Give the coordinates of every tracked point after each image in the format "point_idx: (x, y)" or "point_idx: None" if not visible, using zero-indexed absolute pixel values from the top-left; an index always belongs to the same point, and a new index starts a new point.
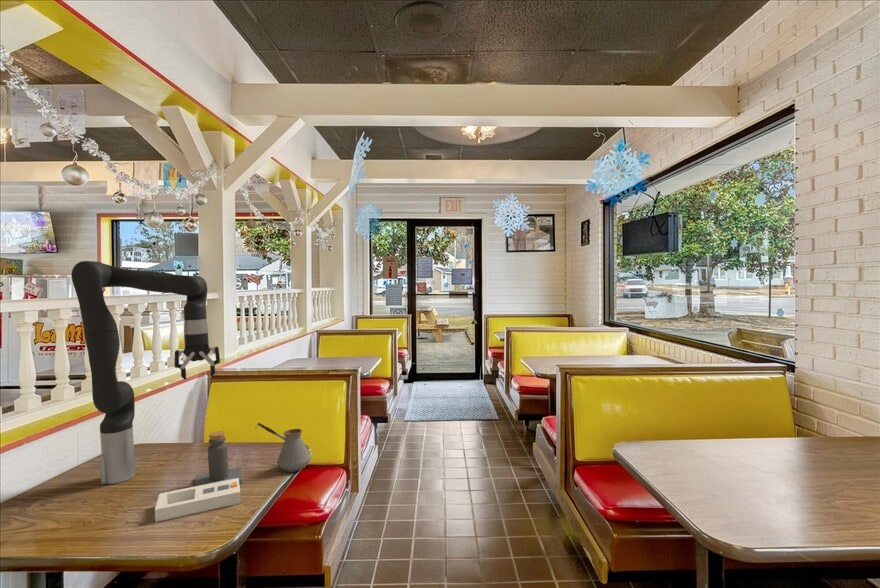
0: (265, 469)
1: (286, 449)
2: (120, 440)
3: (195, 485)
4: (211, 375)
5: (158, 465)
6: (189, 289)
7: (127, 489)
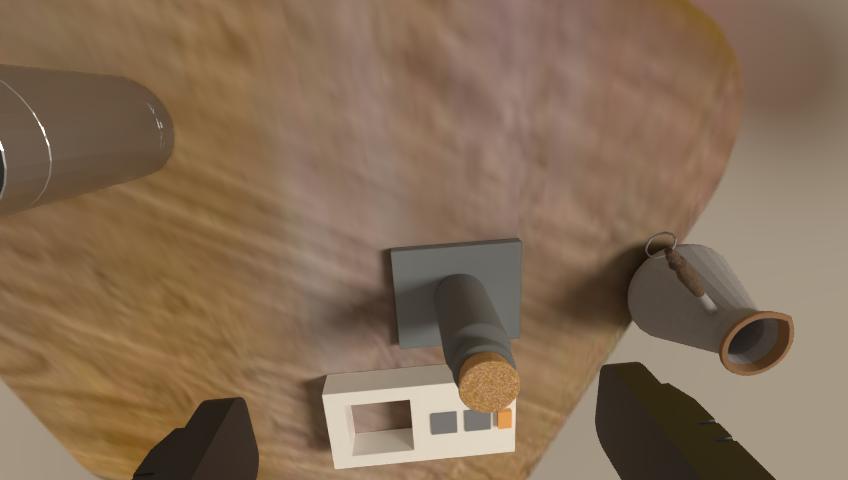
0: (586, 263)
1: (683, 340)
2: (22, 208)
3: (399, 324)
4: (611, 447)
5: (225, 46)
6: None
7: (197, 241)
